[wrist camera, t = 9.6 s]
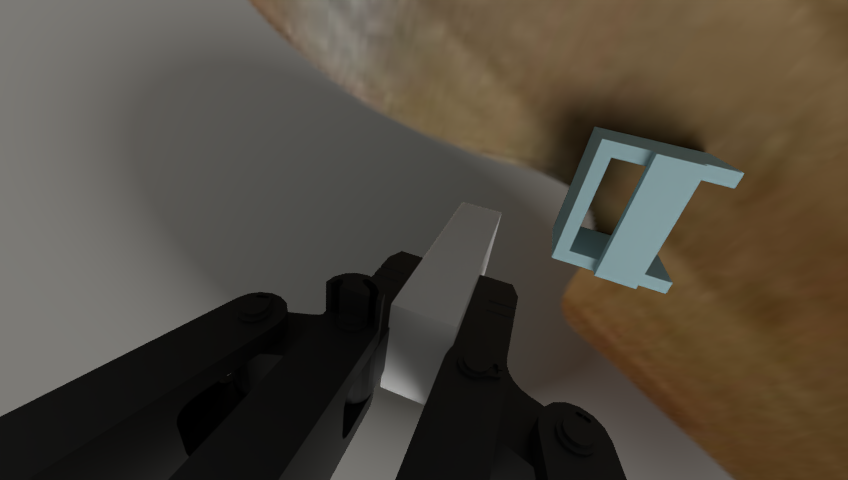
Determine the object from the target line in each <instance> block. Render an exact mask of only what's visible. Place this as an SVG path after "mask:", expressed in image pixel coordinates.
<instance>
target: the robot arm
mask: <svg viewBox="0 0 848 480" xmlns="http://www.w3.org/2000/svg"><path fill="white" fill-rule="evenodd" d="M501 214H502V213H501V212H497V211H494V210H490V209H486V208H483V207H479V206H475V205H472V204H468V203H464V202H462V203H461V205H460V206H459V207H458V209H457V210H456V212H455V213H454V215H453V216H452V218H451V219H450V221H449V222H448V223H447V225H446V226H445V228H444V229H443V230H442V232H441V233H440V235H439V236H438V238H437V239H436V240H435V242H434V243H433V245H432V246H431V248H430V249H429V251H428V252H427V254H426V255H425V256H424V258H422V257H419V256H415V255H412V254H409V253H406V252H403V251H401V252H399V253H397V254H395V255H392V256H390V257H389V258H388V259H387V260H386V261H385V262H384V263H383V264H382V266H381V268H379V269H378V270H377V271H376V272H375V274H374V275H373V276H372V277H370V276H368V275H363V274H358V273H345V274H342V275H338V276H335V277H333V278H331V279H330V280H328V281H327V282H326V311H325V312H324V314H321V315H311V314H300V313H291V312H288V310H287V303H286V302H285V301H284V300H283V299H282V298H281V297H280V296H277V295H275V294H273V293H263V292H258V293H251V294H247V295H244V296H241V297H238V298H236V299H234V300H232V301H230V302H228V303H226V304H224V305H222V306H220V307H218V308H216V309H214V310H212V311H210V312H208V313H206V314H204V315H202V316H200V317H198V318H196V319H194V320H192V321H190V322H188V323H186V324H184V325H182V326H180V327H178V328H176V329H174V330H172V331H170V332H168V333H166V334H164V335H162V336H160V337H158V338H157V339H155V340H152V341H150V342H148V343H146V344H144V345H142V346H140V347H138V348H136V349H134V350H132V351H130V352H128V353H126V354H124V355H123V356H121V357H118V358H117V359H114V360H112V361H110V362H109V363H106V364H104V365H103V366H101V367H98V368H96V369H94V370H92V371H91V372H89V373H87V374H85V375H83V376H81V377H79V378H77V379H75V380H73V381H71V382H69V383H67V384H65V385H63V386H61V387H59V388H57V389H55V390H53V391H51V392H49V393H47V394H45V395H43V396H41V397H39V398H37V399H35V400H33V401H31V402H29V403H27V404H25V405H23V406H21V407H19V408H17V409H15V410H13V411H11V412H9V413H7V414H5V415H3V416H1V417H0V480H330V478H331V476H332V474H333V473H334V471H335V469H336V467H337V465H338V464H339V462H340V460H341V458H342V456H343V454H344V453H345V451H346V449H347V447H348V445H349V443H350V442H351V440H352V438H353V436H354V434H355V433H356V431H357V429H358V427H359V425H360V423H361V422H362V420H363V418H364V416H365V414H366V413H367V411H368V409H369V407H370V405H371V402H372V398H373V391H374V387H375V386H376V384H377V382H378V380H379V379H380V377H381V375H382V379H381V386H380V387H382V388H385V389H387V390H389V391H392V392H395V393H397V394H399V395H402V396H404V397H407V398H409V399H411V400H414V401H416V402H419V403H421V404H423V405H425V406H424V409H423V412H422V414H421V417H420V419H419V422H418V424H417V427H416V429H415V432H414V434H413V437H412V439H411V442H410V444H409V447H408V449H407V452H406V454H405V457H404V459H403V462H402V464H401V467H400V470H399V472H398V474H397V477H396V479H395V480H627V479H626V477H625V474H624V471H623V469H622V466H621V464H620V461H619V458H618V455H617V453H616V450H615V447H614V445H613V443H612V440H611V439H610V437H609V435H608V433H607V431H606V430H605V428H604V427H603V426H602V425H601V424H600V423H599V422H598V421H597V419H595V417H594V416H592V415H591V414H589V413H588V412H586V411H585V410H583V409H582V408H580V407H578V406H575V405H572V404H569V403H566V402H553V403H551V404H549V405H547V406H545V407H544V406H543V405H541V404H540V403H539V402H537V401H536V400H534V399H533V398H531V397H530V396H528V395H527V394H526V393H525V392H524V391H522V390H521V389H520V388H519V387H518V385H517V384H516V383H515V382H514V381H513V379H512V377H511V375H510V374H509V371H508V367H507V355H508V350H509V344H510V338H511V332H512V327H513V322H514V321H513V320H514V316H515V310H516V305H517V299H518V296H517V294H516V292H515V289H514V287H513V285H512V284H508V283H505V282H502V281H499V280H495V279H492V278H489V277H486V276H484V273H485V270H486V267H487V263H488V259H489V256H490V252H491V249H492V245H493V241H494V238H495V235H496V231H497V228H498V224H499V221H500V217H501ZM230 373H231V374H230ZM227 375H228V376H227Z"/></svg>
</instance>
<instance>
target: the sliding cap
mask: <svg viewBox="0 0 848 480" xmlns="http://www.w3.org/2000/svg"><path fill="white" fill-rule="evenodd" d="M611 157H612V158H616V159H620V160H624V161H628V162H632V163H636V164H640V165H644V166H647V167H646V168H645V170H644V172H643V174H642V176H641V178H640V180H639V182H638V184H637V186H636V188H635V190H634V192H633V194H632V196H631V198H630V200H629V202H628V204H627V206H626V208H625V210H624V212H623V214H622V216H621V218H620V220H619V222H618V224H617V226H616V228H615V230H614V232H613V234H612V235H608V234H604V233H601V232H597V231H594V230H591V229H587V228H584V227H580V226H581V223H582V221H583V219H584V217H585V215H586V212H587V210H588V208H589V206H590V204H591V201H592V199H593V197H594V195H595V192H596V190H597V188H598V186H599V184H600V181H601V179H602V177H603V175H604V172H605V170H606V168H607V166H608V164H609V161H610V159H611ZM743 175H744V173H743V172H741V171H739V170H738V169H736V168H734V167H732V166H731V165H729V164H727V163H725V162H724V161H722V160H720V159H718V158H716V157H715V156H713V155H711V154H709V153H705V152H700V151H696V150H692V149H688V148H684V147H679V146H675V145H671V144H667V143H662V142H658V141H654V140H650V139H646V138H641V137H637V136H633V135H629V134H625V133H620V132H616V131H612V130H608V129H603V128H599V127H594V129H593V132H592V134H591V136H590V139H589V141H588V144H587V146H586V149H585V151H584V154H583V156H582V158H581V161H580V163H579V166H578V168H577V171H576V173H575V176H574V178H573V180H572V183H571V185H570V188H569V190H568V193H567V195H566V198H565V200H564V203H563V205H562V208H561V210H560V212H559V215H558V217H557V220H556V222H555V225H554V227H553V236H552V258H555V259H558V260H561V261H564V262H568V263H571V264H574V265H577V266H580V267H583V268H586V269H590V270H593V271H594V276H597V277H600V278H603V279H606V280H610V281H613V282H616V283H619V284H622V285H625V286H628V287H631V288H634V289H636V288H637V286H638V285H640V286H643V287H646V288H649V289H652V290H655V291H659V292H662V293H665V294H666V293H667V291H668V289H669V288H670V286H671V285H672V281H671V279H670V277H669V275H668V273H667V272H666V270H665V268H664V266H663V264H662V262H661V260H660V258H659V256H658V255H657V253H658V251H659V250H660V248H661V246H662V244H663V243H664V241H665V239H666V238H667V236H668V234H669V233H670V231H671V229H672V228H673V226H674V224H675V223H676V221H677V219H678V218H679V216H680V214H681V213H682V211H683V209H684V208H685V206H686V204H687V203H688V201H689V199H690V198H691V196H692V194H693V193H694V191H695V189H696V188H697V186H698V184H699V183H700V181H701V180H703V181H707V182H711V183H715V184H719V185H723V186H727V187H731V188H735V187H736V186H737V184H738V183H739V181H740V180H741V178H742V177H743Z"/></svg>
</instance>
